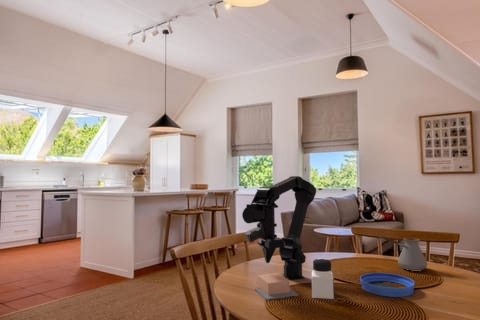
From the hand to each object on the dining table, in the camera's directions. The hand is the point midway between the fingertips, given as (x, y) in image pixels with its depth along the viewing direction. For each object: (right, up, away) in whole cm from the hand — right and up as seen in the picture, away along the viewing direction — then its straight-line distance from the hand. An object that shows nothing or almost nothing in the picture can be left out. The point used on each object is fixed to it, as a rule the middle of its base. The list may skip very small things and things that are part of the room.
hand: (267, 262), depth 129 cm
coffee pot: (+59, -9, +19) cm, 63 cm away
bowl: (+42, -8, -5) cm, 44 cm away
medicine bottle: (+18, -8, -10) cm, 22 cm away
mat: (+2, -8, -8) cm, 11 cm away
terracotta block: (0, -6, 0) cm, 6 cm away
